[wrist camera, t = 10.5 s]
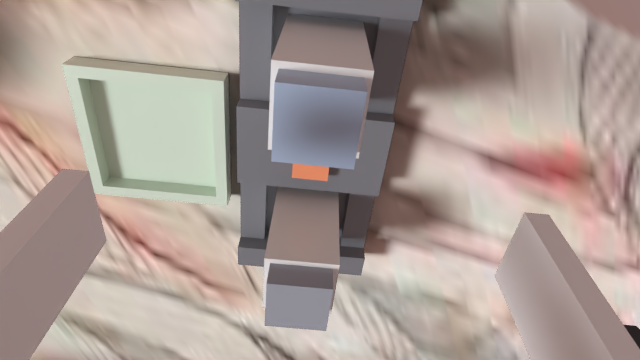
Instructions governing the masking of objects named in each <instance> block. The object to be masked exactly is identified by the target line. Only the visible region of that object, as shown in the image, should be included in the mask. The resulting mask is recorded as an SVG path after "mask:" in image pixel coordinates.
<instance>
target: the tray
mask: <svg viewBox="0 0 640 360" xmlns="http://www.w3.org/2000/svg"><path fill="white" fill-rule="evenodd" d="M62 68H63V72H64V76H65V79H66V83H67V87H68V91H69V95H70V99H71V103H72V107H73V111H74V115H75V119H76V123H77V127H78V131H79V135H80V139H81V143H82V147H83V151H84V155H85V159H86V163H87V167H88V171H89V173H90V177H91V181H92V185H93V189H94V193H95V194H104V195H114V196H125V197H135V198H146V199H156V200H167V201H177V202H188V203H198V204H209V205H219V206H228V203H229V200H230V197H231V165H230V121H229V77H228V73H225V72H216V71H206V70H197V69H187V68H178V67H169V66H159V65H150V64H140V63H131V62H122V61H112V60H103V59H93V58H84V57H75V56H74V57H72V58H71V59H69V60H68V61H66V62H64V63H63V64H62Z"/></svg>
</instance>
